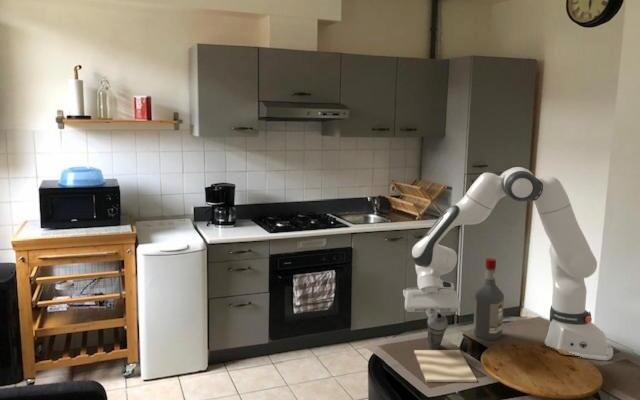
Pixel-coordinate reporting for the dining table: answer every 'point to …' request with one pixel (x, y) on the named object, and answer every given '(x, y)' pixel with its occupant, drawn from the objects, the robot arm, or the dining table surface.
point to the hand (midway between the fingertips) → (434, 321)
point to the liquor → (488, 306)
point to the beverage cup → (436, 329)
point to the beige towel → (444, 366)
